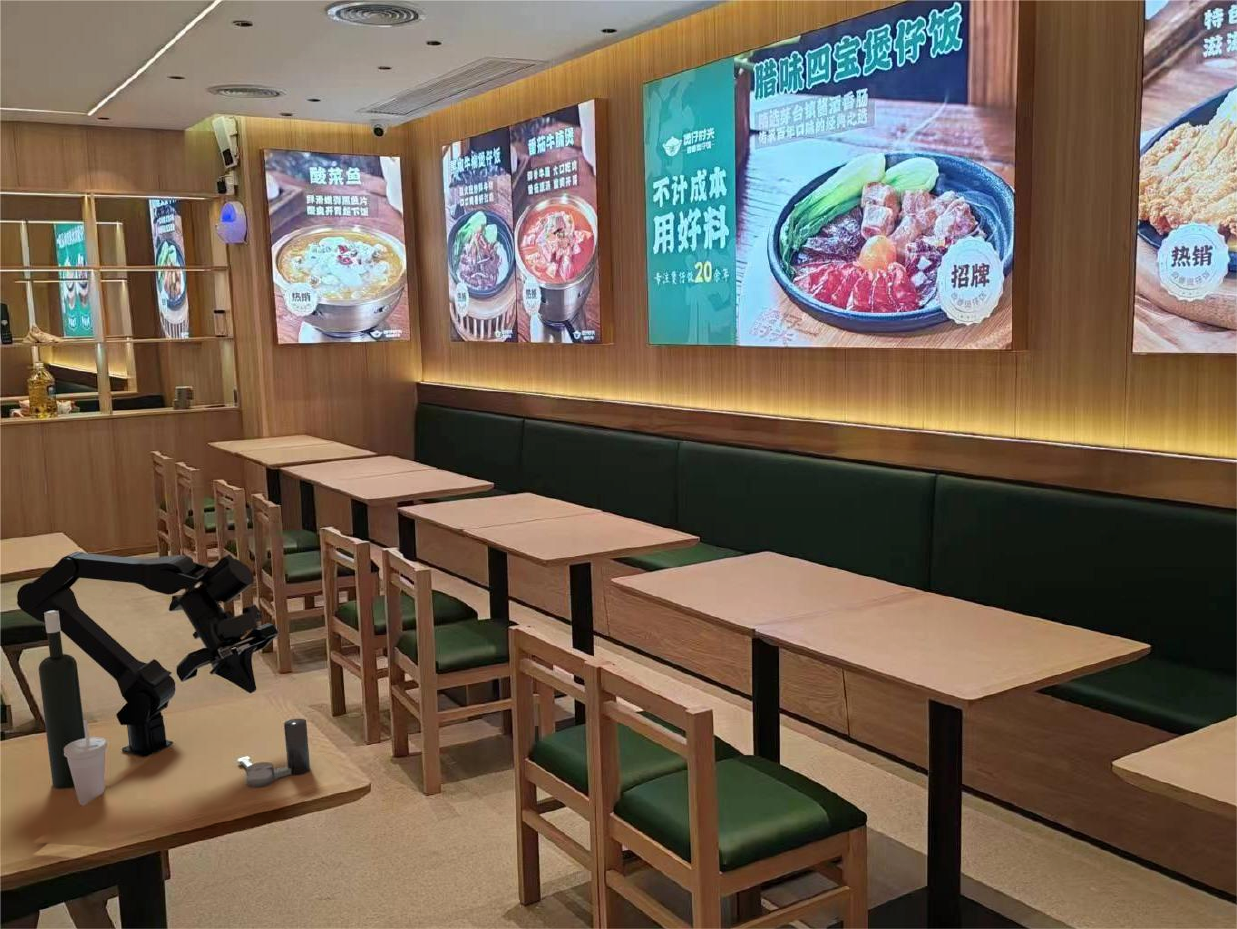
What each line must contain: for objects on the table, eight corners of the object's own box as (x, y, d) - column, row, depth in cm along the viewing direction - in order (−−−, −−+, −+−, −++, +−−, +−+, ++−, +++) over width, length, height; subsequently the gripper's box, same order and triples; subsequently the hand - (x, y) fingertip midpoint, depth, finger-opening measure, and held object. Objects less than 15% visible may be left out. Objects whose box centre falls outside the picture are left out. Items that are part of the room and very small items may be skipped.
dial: (252, 789, 181) (247, 740, 179) (230, 766, 190) (225, 719, 188) (314, 771, 187) (310, 723, 185) (290, 750, 196) (286, 704, 195)
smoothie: (96, 810, 178) (86, 728, 176) (61, 808, 179) (51, 726, 177) (121, 792, 184) (112, 712, 182) (87, 790, 185) (77, 711, 183)
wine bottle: (90, 783, 188) (70, 613, 183) (52, 791, 186) (31, 618, 181) (89, 771, 193) (70, 604, 188) (52, 778, 191) (32, 610, 186)
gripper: (185, 610, 184) (233, 688, 182) (270, 580, 200) (316, 652, 198) (155, 642, 190) (201, 719, 187) (241, 611, 206) (284, 681, 203)
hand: (253, 691), depth 194 cm, fingers closed
